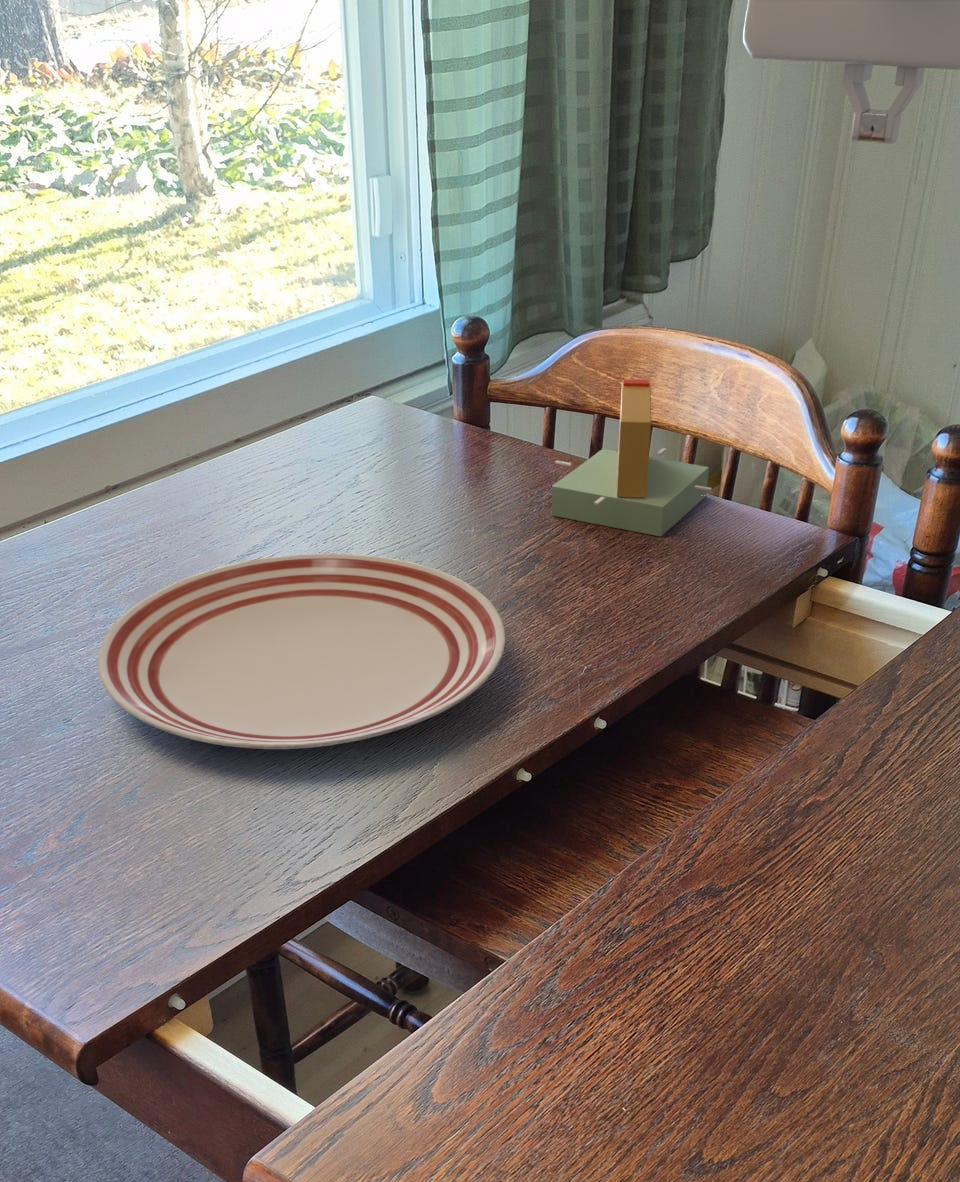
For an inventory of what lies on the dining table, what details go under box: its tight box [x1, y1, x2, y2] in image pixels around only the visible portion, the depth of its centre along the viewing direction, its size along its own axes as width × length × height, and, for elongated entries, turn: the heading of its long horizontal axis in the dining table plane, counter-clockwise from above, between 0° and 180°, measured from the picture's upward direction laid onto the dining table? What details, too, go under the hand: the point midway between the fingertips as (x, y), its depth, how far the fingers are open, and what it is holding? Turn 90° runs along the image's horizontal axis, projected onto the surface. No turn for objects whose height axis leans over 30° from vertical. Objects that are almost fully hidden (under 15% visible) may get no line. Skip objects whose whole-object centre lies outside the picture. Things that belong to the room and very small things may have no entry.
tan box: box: [617, 379, 652, 498], centre depth 118 cm, size 10×2×6 cm, turn 175°
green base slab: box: [551, 447, 713, 538], centre depth 121 cm, size 14×14×3 cm
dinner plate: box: [97, 553, 506, 750], centre depth 98 cm, size 28×27×3 cm
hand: (874, 141), depth 102 cm, fingers closed
